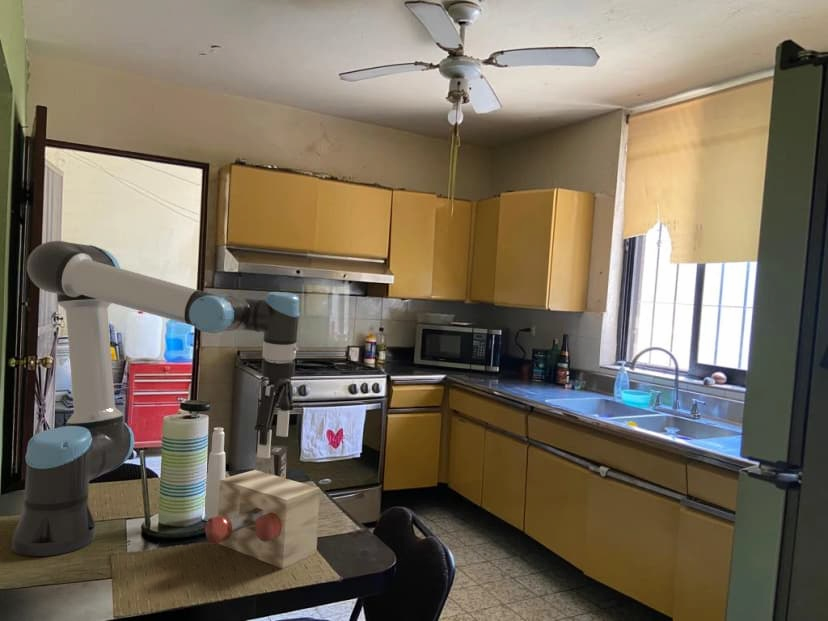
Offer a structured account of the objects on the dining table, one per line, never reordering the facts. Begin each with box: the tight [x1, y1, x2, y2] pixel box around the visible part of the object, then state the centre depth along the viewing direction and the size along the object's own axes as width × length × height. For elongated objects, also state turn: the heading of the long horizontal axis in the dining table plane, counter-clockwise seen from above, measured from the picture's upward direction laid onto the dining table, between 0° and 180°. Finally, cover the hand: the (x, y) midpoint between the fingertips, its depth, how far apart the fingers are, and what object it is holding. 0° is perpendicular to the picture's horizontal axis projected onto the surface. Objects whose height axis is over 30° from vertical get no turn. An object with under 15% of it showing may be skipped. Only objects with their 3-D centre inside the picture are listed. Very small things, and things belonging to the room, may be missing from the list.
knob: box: [204, 508, 263, 545], centre depth 121 cm, size 12×5×5 cm, turn 148°
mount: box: [218, 469, 321, 570], centre depth 126 cm, size 20×12×14 cm, turn 58°
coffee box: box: [253, 445, 288, 479], centre depth 148 cm, size 9×6×16 cm
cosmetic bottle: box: [204, 427, 226, 518], centre depth 143 cm, size 6×6×22 cm
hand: (273, 446), depth 139 cm, fingers open, 13 cm apart
